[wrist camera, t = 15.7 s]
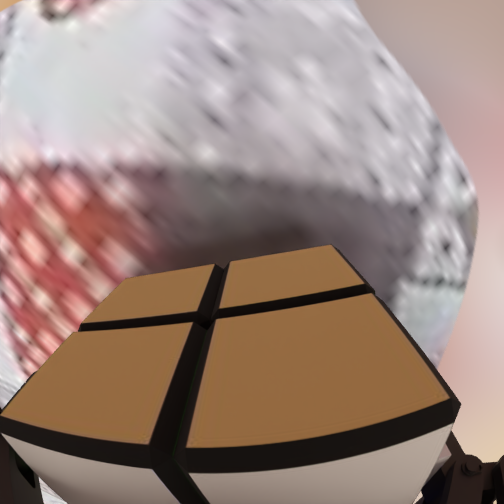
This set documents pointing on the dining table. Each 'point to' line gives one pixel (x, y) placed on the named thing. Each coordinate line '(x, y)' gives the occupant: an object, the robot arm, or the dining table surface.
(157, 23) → the dining table surface
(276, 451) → the puzzle cube
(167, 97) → the dining table surface
